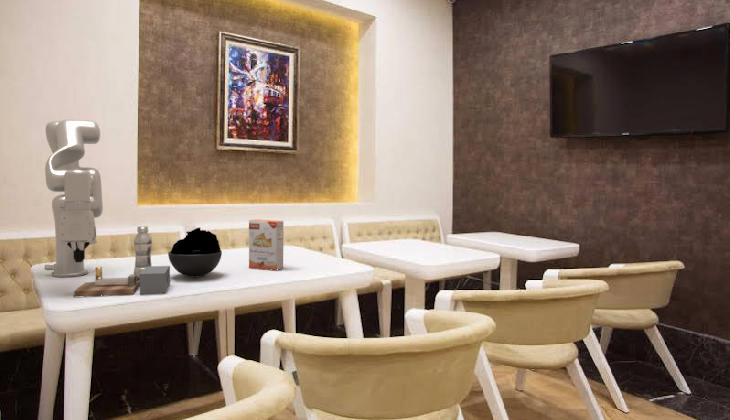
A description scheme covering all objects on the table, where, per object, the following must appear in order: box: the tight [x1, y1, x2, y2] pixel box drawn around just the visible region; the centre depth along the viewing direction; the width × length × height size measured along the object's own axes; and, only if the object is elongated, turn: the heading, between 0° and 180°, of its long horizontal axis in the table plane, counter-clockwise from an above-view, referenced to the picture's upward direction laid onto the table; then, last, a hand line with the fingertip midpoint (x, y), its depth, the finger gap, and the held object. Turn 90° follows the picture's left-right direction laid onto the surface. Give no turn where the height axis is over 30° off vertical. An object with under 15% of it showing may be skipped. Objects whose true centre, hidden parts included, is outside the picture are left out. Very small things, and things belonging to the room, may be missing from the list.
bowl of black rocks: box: [167, 227, 223, 278], centre depth 208 cm, size 20×20×19 cm
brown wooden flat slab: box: [73, 273, 140, 297], centre depth 181 cm, size 18×14×5 cm
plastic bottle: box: [133, 226, 153, 280], centre depth 202 cm, size 6×7×20 cm
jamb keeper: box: [139, 265, 171, 295], centre depth 185 cm, size 8×14×7 cm, turn 14°
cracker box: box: [248, 218, 284, 271], centre depth 227 cm, size 14×6×21 cm, turn 68°
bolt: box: [94, 266, 128, 285], centre depth 182 cm, size 12×2×6 cm, turn 104°
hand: (79, 261), depth 178 cm, fingers closed
